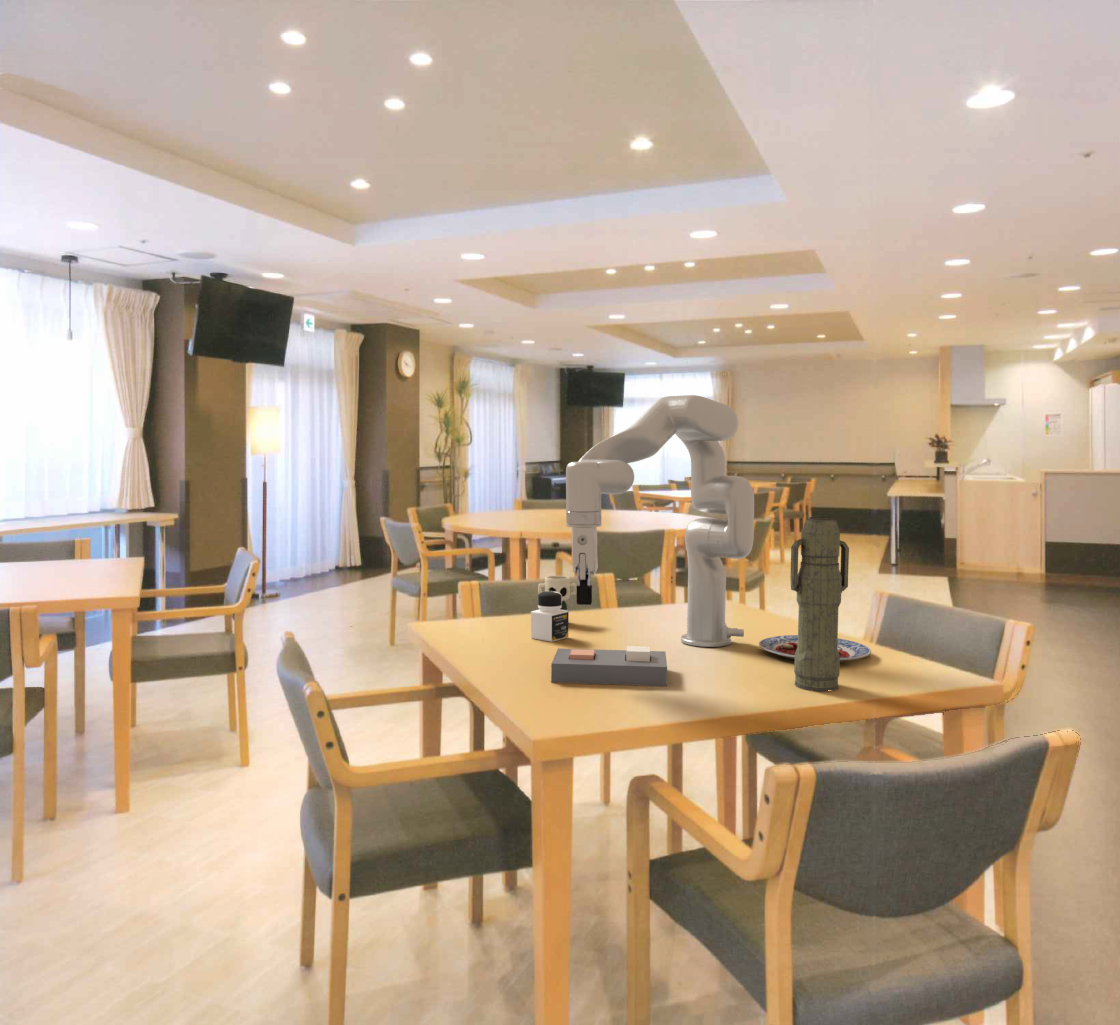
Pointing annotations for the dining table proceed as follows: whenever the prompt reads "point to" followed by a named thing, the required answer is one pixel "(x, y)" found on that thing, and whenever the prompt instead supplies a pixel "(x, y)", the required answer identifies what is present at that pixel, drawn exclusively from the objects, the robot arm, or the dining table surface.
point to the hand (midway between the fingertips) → (584, 603)
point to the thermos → (818, 602)
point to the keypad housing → (609, 668)
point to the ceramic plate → (790, 643)
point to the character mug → (559, 587)
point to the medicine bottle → (549, 618)
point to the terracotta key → (582, 654)
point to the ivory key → (638, 653)
